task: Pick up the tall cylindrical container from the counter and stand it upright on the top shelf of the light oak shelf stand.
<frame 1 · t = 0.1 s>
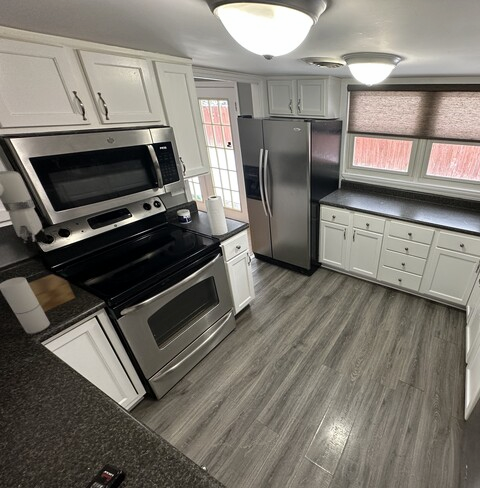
hand: (39, 245, 106), 35 cm above the worktop, tool pointing down, fingers open, 9 cm apart
cylindrical container: (40, 331, 112), on the worktop
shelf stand: (50, 301, 129), on the worktop
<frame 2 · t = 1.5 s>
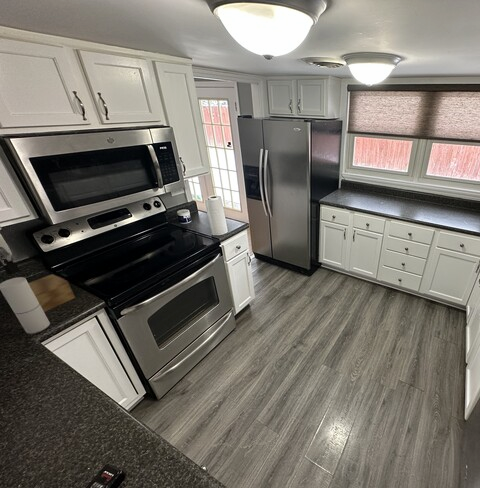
hand: (7, 269, 99), 30 cm above the worktop, tool pointing down, fingers open, 9 cm apart
nothing on the worktop moved.
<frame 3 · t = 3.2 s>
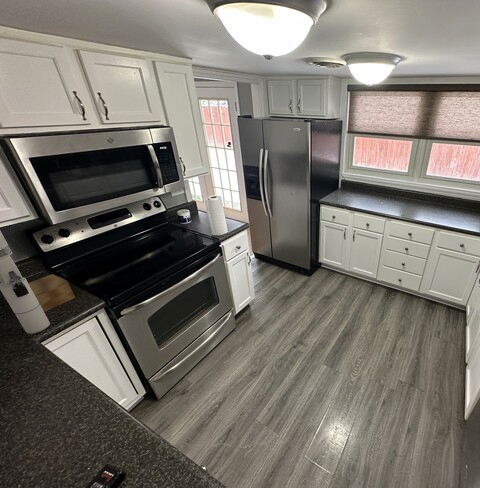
hand: (18, 292, 103), 20 cm above the worktop, tool pointing down, fingers closed on cylindrical container, 7 cm apart
cylindrical container: (40, 331, 112), on the worktop, touching gripper
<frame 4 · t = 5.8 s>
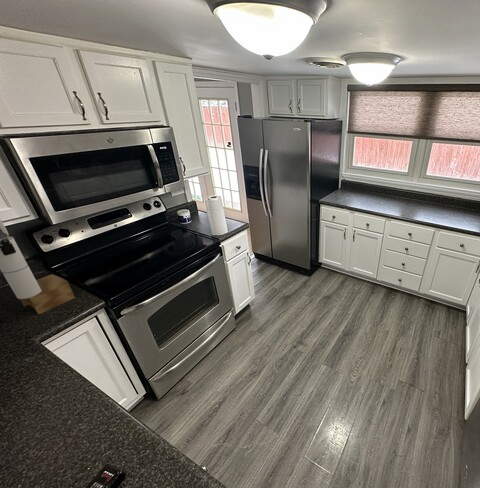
hand: (5, 251, 102), 35 cm above the worktop, tool pointing down, fingers closed on cylindrical container, 7 cm apart
cylindrical container: (29, 294, 111), point 15 cm above the worktop, touching gripper
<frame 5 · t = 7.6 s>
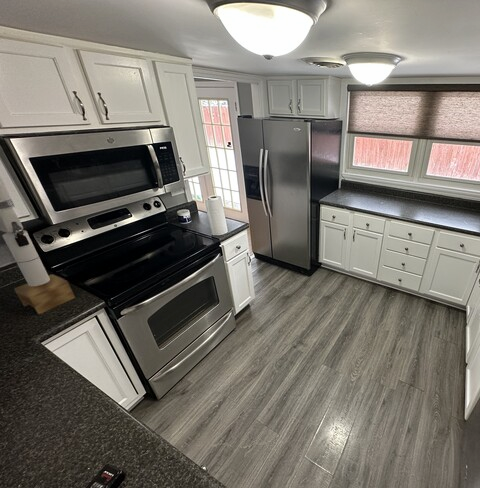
hand: (19, 243, 115), 32 cm above the worktop, tool pointing down, fingers closed on cylindrical container, 7 cm apart
cylindrical container: (39, 282, 124), point 11 cm above the worktop, touching gripper
when the fingers open (30 cm above the worktop, at t = 8.7 s): cylindrical container stays where it is, resting on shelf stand.
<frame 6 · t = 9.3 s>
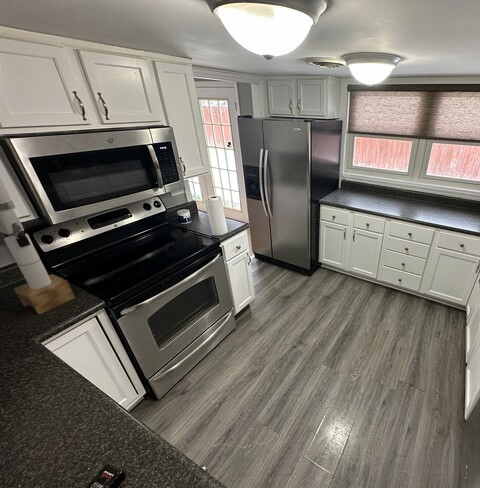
hand: (19, 243, 115), 32 cm above the worktop, tool pointing down, fingers open, 9 cm apart
cylindrical container: (41, 285, 125), point 10 cm above the worktop, touching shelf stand
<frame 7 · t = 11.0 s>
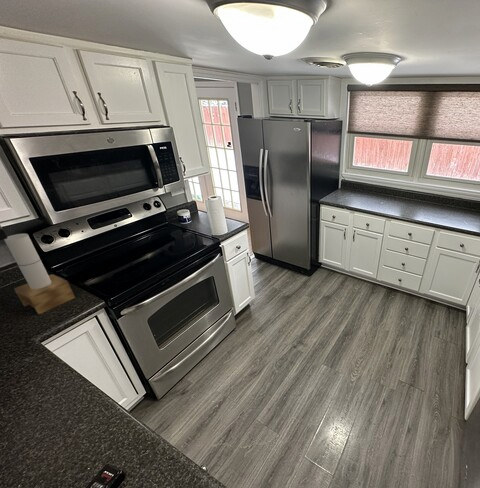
nothing on the worktop moved.
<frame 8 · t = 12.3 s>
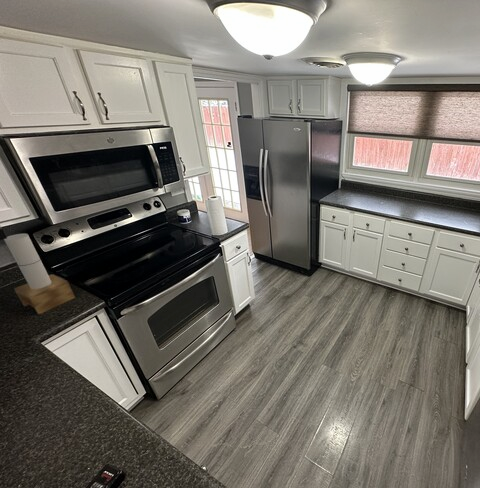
nothing on the worktop moved.
at the end: cylindrical container inside the target area on the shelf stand (0.1 cm from its centre), point 9.8 cm above the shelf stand's base; cylindrical container tilted 0° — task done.
